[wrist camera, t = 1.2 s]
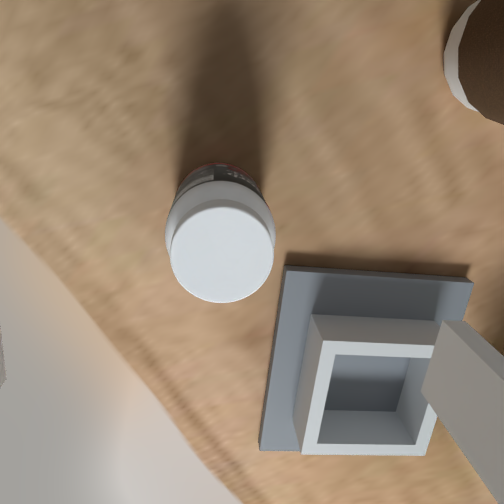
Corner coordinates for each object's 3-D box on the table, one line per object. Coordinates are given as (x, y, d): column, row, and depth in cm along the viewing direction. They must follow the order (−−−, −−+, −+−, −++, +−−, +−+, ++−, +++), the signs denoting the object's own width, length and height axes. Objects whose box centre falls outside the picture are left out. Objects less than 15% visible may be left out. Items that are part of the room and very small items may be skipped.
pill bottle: (278, 210, 29) (311, 266, 19) (212, 260, 29) (214, 337, 20) (224, 142, 27) (233, 167, 17) (156, 197, 27) (130, 249, 18)
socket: (284, 265, 30) (296, 293, 26) (466, 277, 32) (505, 305, 28) (258, 441, 35) (264, 488, 31) (415, 443, 37) (441, 488, 33)
